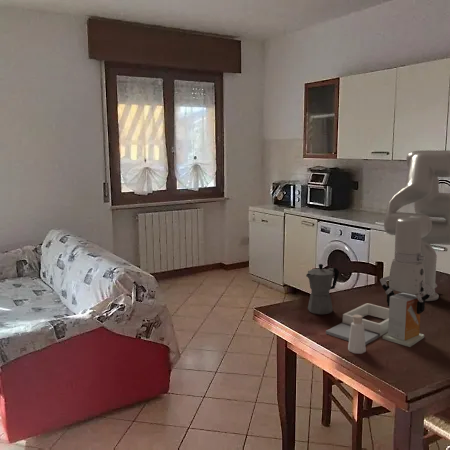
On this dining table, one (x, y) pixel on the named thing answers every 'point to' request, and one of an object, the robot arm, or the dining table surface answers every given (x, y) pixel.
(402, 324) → the small box
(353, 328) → the pepper shaker
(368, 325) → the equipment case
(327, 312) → the coffeepot
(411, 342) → the rubber mat
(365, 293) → the dining table surface
